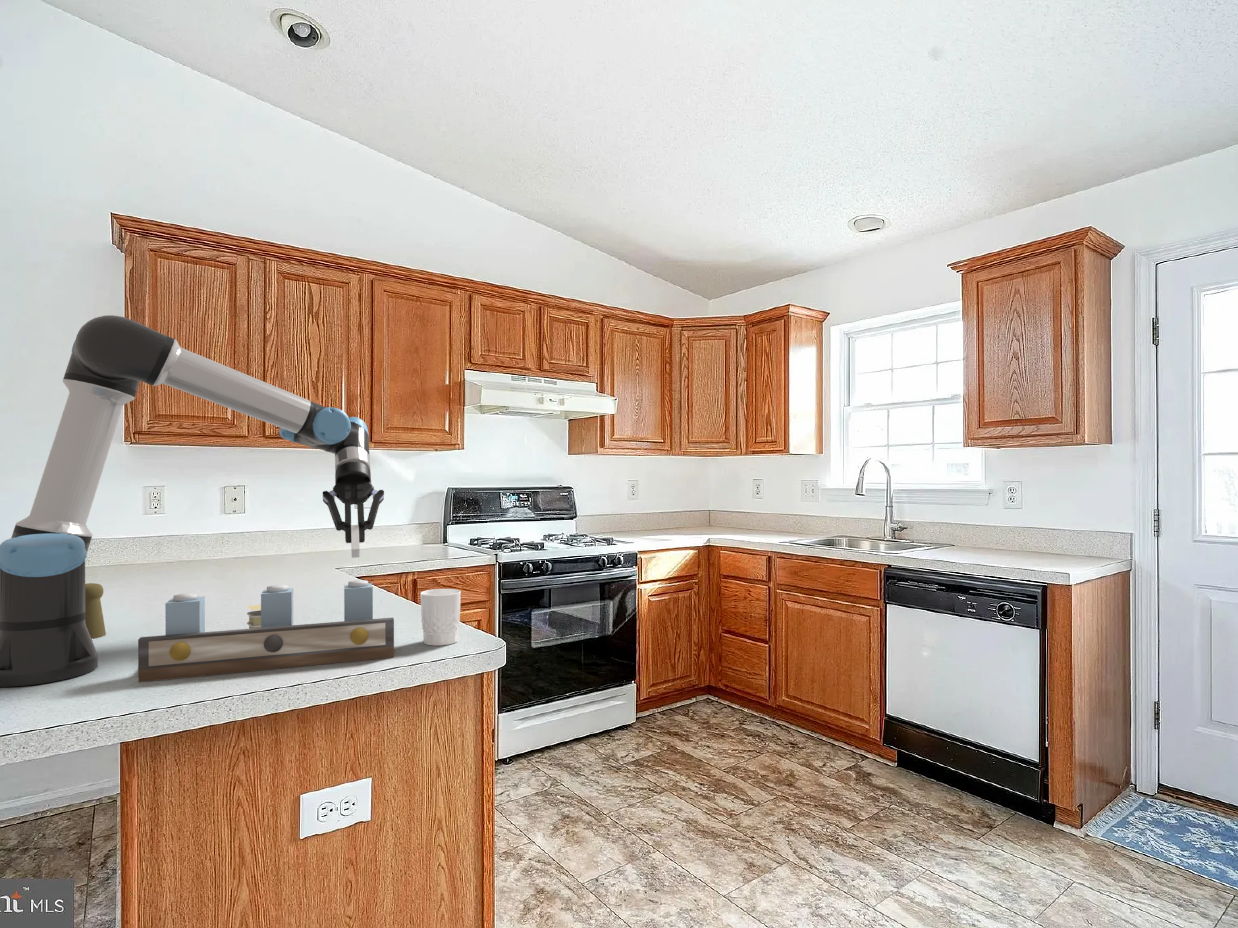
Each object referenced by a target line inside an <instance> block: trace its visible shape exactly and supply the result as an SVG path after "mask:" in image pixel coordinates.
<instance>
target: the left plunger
mask: <svg viewBox="0 0 1238 928" xmlns="http://www.w3.org/2000/svg"><path fill="white" fill-rule="evenodd" d="M205 603H206V597H205V596H203V595H202V596H199V593H196V592H195V593H192V592H190V593H179V594H174V595H173V597H172V598H170V599H169V600H168V601H166V602H165V609H164V610H165V635H175V634H188V633H201V632H206V612H205V611H206V604H205Z"/></svg>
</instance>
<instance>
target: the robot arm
mask: <svg viewBox="0 0 1238 928" xmlns="http://www.w3.org/2000/svg"><path fill="white" fill-rule="evenodd" d="M141 382H142V383H145V384H147V385H150V386H153V387H156V386H159V385H166V386H169V387H171V388H173V389H176V390H178V391H179V390H180V391H182V392H184V393H187V394H189V395H192V396H195V397H198V398H199V399H203V400H206V401H209V402H211V403H214V404H217V405H219V406H221V407H224V408H227V409H230V410H233V411H235V412H238V413H240V414H243V415H245V416H248V417H251V418H254V419H256V420H259V421H262V422H264V423H267V424H270V425H273V426H274V427H278V428H279V430H278V431H279V432H278V433H279V436H280V437H281V438H282V439H284V440H286V441H289V442H292V443H293V444H299V445H303V446H307V447H310V448H314V449H316V450H317V449H318V450H320V451H324V452H327V453H329V454H334V471H335V474H334V477H335V478H334V479H335V480H334V482H335V483H334V484H335V485H333V487H332V490H330V491H329V490H324V491H322V502H323V503H324V504H325V505H326V506H327V509H328V511H329V513H330V517H331V519H332V522H333V524H334V527H335V529H336V531H338V532H340V531H344V532H345V533H344V539H345V540H344V541H345V544H350V546H351V558H354V559H355V558H360V550H361V549H360V543H365V540H366V538H365V537H366V533H365V531H367V530H373V529H374V525H375V522H376V518H377V514H378V512H379V507H380V504H382V502H383V501H384V498H385V491H384V489H379V490H377V489H375V487H374V485H373V484H372V476H371V475H372V473H371V460H370V459H371V458H370V435H369V430H368V426H367V423H365V421H364V420H363V419H361V418H359V417H356V416H349V415H348V414H347V413H346V412H345V411H344V410H342V409H340V408H337V407H331V406H330V407H329V406H328V407H327V406H324V405H322V404H319V403H316V402H314V401H311V400H310V399H307V398H304V397H302V396H300V395H298V394H294V393H292V392H290V391H287V390H286V389H283V388H281V387H277V386H276V385H273V384H271V383H269V382H267V381H266V382H265V381H263V380H261V379H258V378H255V377H253V376H251V375H248V374H246V373H243V372H242V371H239V370H238V369H237V370H236V369H234V368H231V367H229V366H226V365H224V364H222V363H220V362H216V361H215V360H212V359H210V358H207V357H205V356H203V355H200V354H197V353H195V352H193V351H190V350H188V349H186V348H183V347H182V346H180V344H179V342H178V341H177V339H175V338H173V337H171V336H168V335H166V334H164V333H162V332H159V331H157V330H155V329H153V328H151V327H148V326H146V325H145V324H142V323H140V322H137V321H135V320H133V319H130V318H127V317H126V316H125V317H124V316H121V315H120V316H119V315H114V314H113V315H112V314H110V315H101V316H97V317H94V318H92V319H90V320H88V321H87V322H86V323H84V324H83V325H82V326H81V327H80V329H79V330H78V333H77V334H76V338H75V340H74V343H73V345H72V348H71V355H70V357H69V360H68V364H67V366H66V369H65V372H64V375H63V378H62V383H63V384H64V385H65V387H66V389H67V390H68V391H69V392H68V395H67V398H66V402H65V405H64V409H63V411H62V414H61V417H60V420H59V423H58V427H57V430H56V432H55V436H54V440H53V442H52V445H51V448H50V450H49V451H50V452H49V455H48V457H47V461H46V463H45V467H44V470H43V473H42V477H41V479H40V482H39V485H38V488H37V492H36V495H35V498H34V500H33V503H32V506H31V510H30V513H29V515H27V517H25V518H23V519H21V520H19V521H16V523H15V525H14V528H13V531H12V535H11V538H8V539H5V540H4V541H2V542H0V687H1V688H2V687H5V688H6V687H23V686H25V687H26V686H33V685H40V684H46V683H52V682H59V681H63V680H68V679H71V678H75V677H78V676H83V675H85V674H87V673H91V672H92V671H94V670H96V669H97V668H98V666H99V655H98V654H99V653H98V652H97V651H98V650H97V649H96V646H95V644H94V642H93V640H92V639H91V637H90V634H89V632H88V629H87V627H86V624H85V584H86V559H87V554H88V551H89V548H90V545H91V541H92V538H93V533H92V532H91V531H90V529H89V528H88V526H87V522H88V518H89V516H90V512H91V509H92V506H93V502H94V501H95V500H94V499H95V496H96V494H97V493H96V492H97V489H98V487H99V485H100V484H99V483H100V481H101V477H102V474H103V471H104V467H105V463H106V461H107V458H108V454H109V450H110V448H111V445H112V441H113V438H114V435H115V432H116V428H117V425H118V422H119V418H120V415H121V412H122V410H123V406H125V404H126V405H127V404H128V403H131V402H133V401H134V400H135V398H136V397H137V392H138V389H139V385H140V383H141ZM371 496H372V502H371V506H370V508H369V512H368V515H367V520H365V508H364V503H366V502H367V501H368V500H369V499H370V498H371ZM336 498H337V499H338V500H339V501H340V502H341V503H343V504H344V520H342V517H341V514H340V511H339V508H338V506H337V503H336ZM353 505H356V509H357V524H352V506H353Z"/></svg>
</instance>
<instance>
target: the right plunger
mask: <svg viewBox="0 0 1238 928" xmlns="http://www.w3.org/2000/svg"><path fill="white" fill-rule="evenodd" d="M343 585H344V587H343V597H344V599H343V604H344V605H343V607H344V611H343V617H344V618H343V619H344V620H343V621H354V620H367V619H374V614H373V613H374V611H373V610H374V609H373V608H374V606H373V605H374V604H373V601H374V596H373V595H374V594H373V591H374V589H373V588H374V587H373V585H372V582H370V583H369V581H368V580H363V579H361V580H358V579H357V580H350V581H348V583H347V584H343Z"/></svg>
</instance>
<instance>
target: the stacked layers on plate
mask: <svg viewBox="0 0 1238 928" xmlns="http://www.w3.org/2000/svg"><path fill="white" fill-rule="evenodd" d="M246 608H247V609H250V610H251V611H249V612H248V611H247V613H246V614H247V616H248V621H247V622H246V624H247V625H248V629H252V628H261V603H260V604H253V605H248V606H246Z"/></svg>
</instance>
